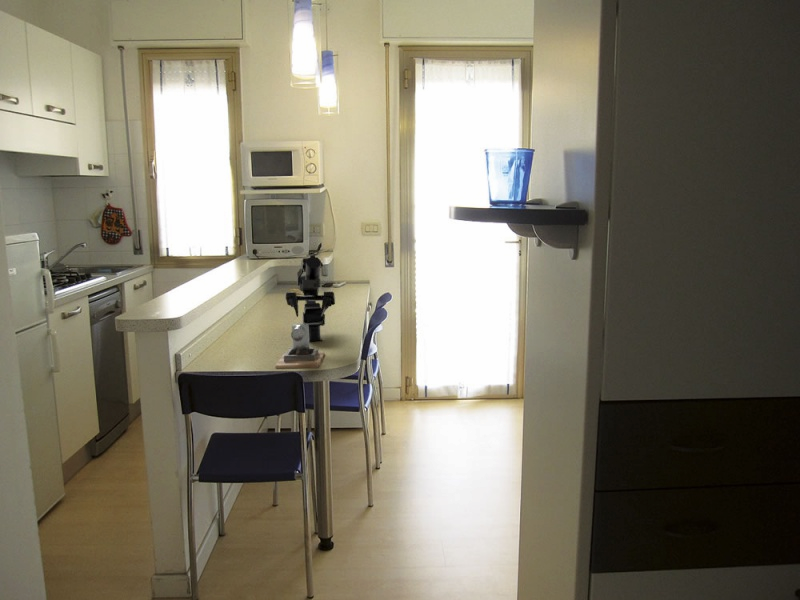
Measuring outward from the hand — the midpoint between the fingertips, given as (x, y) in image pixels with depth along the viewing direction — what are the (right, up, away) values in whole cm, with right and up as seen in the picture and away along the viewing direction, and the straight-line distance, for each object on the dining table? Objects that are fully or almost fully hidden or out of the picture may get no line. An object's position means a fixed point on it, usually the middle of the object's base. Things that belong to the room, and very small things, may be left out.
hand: (309, 316), depth 246 cm
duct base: (-1, -16, -12) cm, 20 cm away
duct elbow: (-1, -15, -13) cm, 20 cm away
